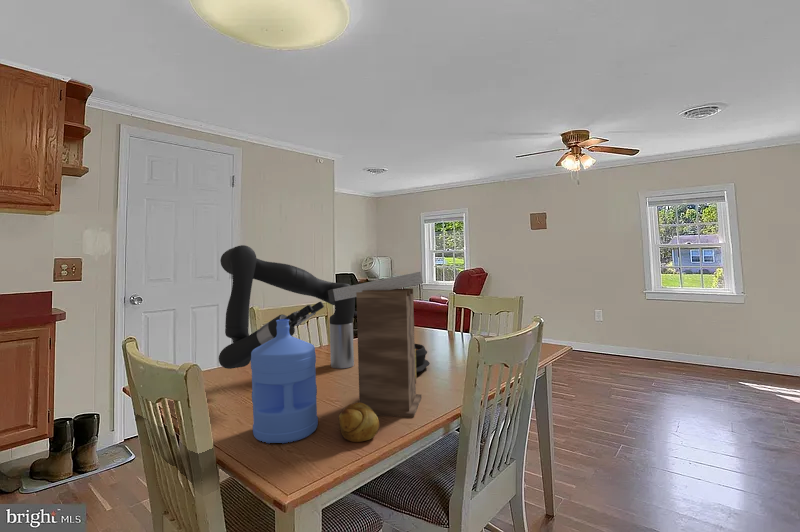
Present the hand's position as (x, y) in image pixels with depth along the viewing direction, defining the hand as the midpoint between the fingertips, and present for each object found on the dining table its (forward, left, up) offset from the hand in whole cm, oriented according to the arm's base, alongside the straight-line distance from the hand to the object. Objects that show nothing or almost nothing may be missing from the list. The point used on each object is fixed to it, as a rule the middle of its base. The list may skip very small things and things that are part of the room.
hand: (317, 305), depth 122 cm
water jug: (+23, 0, -29) cm, 37 cm away
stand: (+3, +22, -29) cm, 37 cm away
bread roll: (+22, +19, -29) cm, 41 cm away
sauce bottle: (-17, +24, -29) cm, 42 cm away
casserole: (-36, +20, -29) cm, 51 cm away
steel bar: (0, +19, +4) cm, 19 cm away
